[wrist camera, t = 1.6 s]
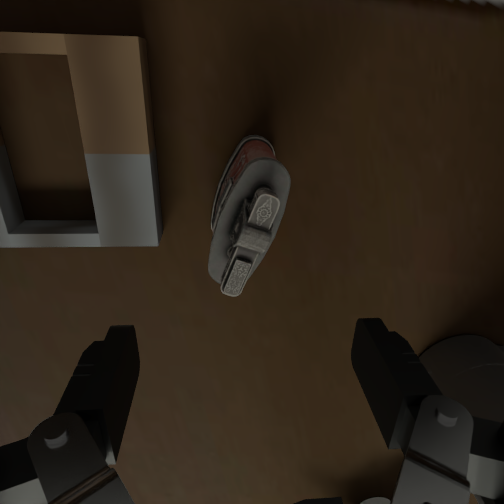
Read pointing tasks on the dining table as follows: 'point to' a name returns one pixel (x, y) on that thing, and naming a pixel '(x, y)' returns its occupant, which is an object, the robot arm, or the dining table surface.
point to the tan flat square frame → (96, 145)
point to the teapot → (376, 501)
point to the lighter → (246, 212)
